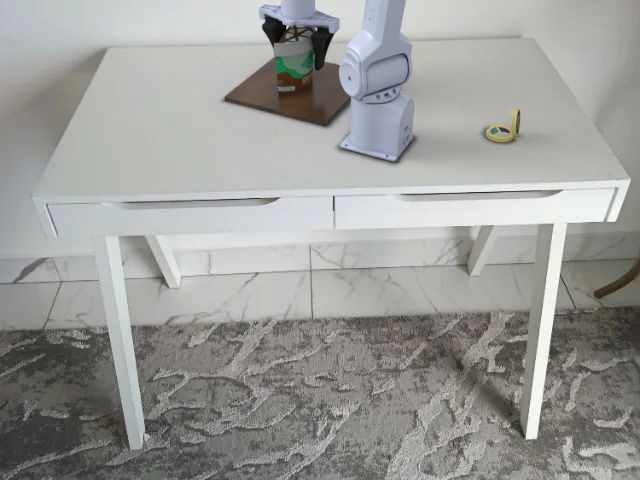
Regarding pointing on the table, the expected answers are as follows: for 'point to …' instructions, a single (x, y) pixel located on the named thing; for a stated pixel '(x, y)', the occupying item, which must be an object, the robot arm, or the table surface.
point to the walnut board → (305, 106)
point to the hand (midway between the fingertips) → (300, 63)
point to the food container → (294, 60)
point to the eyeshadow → (505, 129)
